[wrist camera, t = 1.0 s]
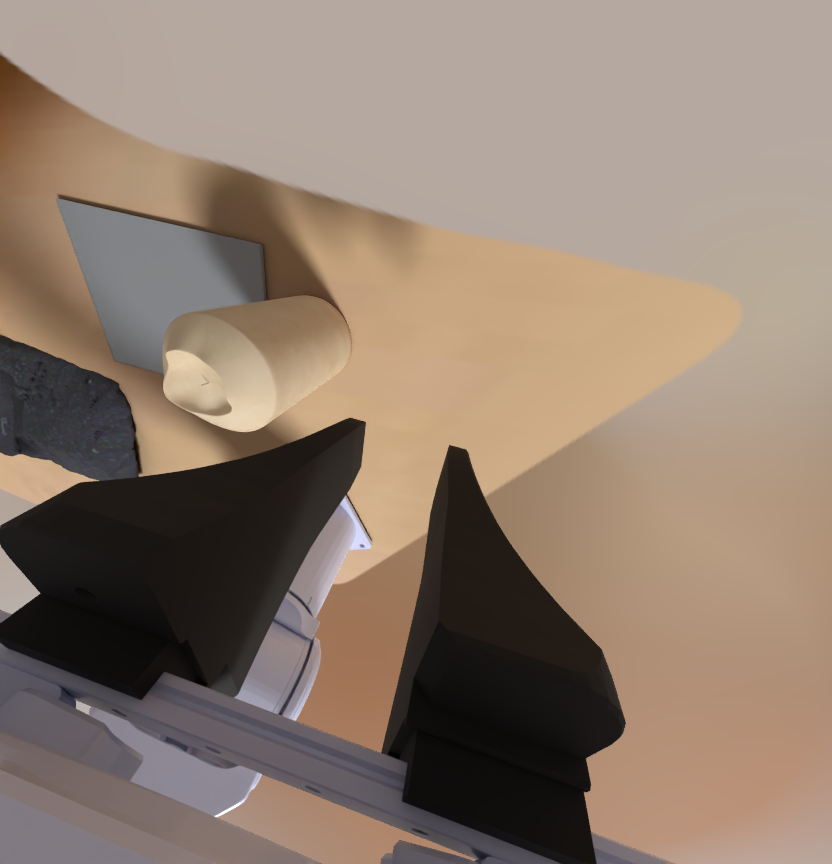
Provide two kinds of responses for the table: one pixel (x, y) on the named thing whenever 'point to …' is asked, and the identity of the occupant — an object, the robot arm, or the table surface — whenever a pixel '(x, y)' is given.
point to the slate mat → (156, 275)
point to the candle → (253, 358)
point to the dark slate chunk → (64, 414)
